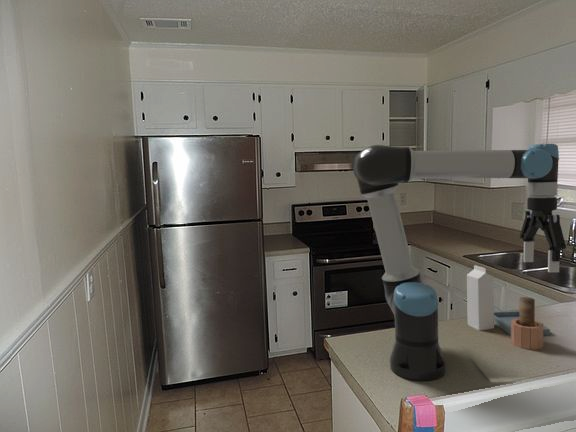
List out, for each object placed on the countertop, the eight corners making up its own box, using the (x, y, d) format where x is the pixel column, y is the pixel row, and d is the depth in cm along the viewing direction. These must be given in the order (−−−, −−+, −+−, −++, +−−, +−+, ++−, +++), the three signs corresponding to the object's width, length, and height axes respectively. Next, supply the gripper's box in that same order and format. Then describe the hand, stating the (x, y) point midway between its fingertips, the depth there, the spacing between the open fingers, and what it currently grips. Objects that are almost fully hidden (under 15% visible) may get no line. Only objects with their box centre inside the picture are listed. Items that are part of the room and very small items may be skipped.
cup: (519, 352, 121) (519, 328, 120) (506, 341, 129) (506, 318, 128) (549, 352, 120) (549, 327, 119) (533, 340, 128) (533, 317, 128)
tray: (511, 338, 131) (510, 330, 130) (487, 319, 149) (487, 311, 148) (549, 337, 130) (549, 329, 130) (521, 318, 148) (521, 310, 147)
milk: (482, 325, 144) (481, 264, 142) (494, 331, 138) (494, 267, 136) (467, 327, 142) (466, 265, 140) (478, 333, 136) (478, 269, 134)
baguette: (523, 346, 123) (523, 301, 121) (517, 341, 127) (516, 297, 125) (537, 346, 122) (537, 301, 121) (530, 340, 126) (530, 296, 125)
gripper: (583, 198, 108) (580, 276, 110) (532, 194, 132) (531, 258, 134) (553, 199, 108) (551, 277, 110) (509, 194, 133) (507, 258, 135)
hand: (540, 266), depth 122 cm, fingers open, 13 cm apart
